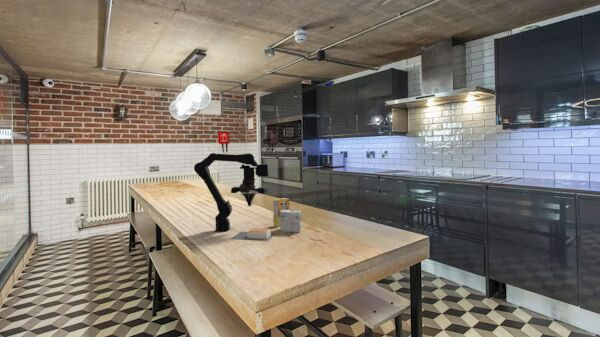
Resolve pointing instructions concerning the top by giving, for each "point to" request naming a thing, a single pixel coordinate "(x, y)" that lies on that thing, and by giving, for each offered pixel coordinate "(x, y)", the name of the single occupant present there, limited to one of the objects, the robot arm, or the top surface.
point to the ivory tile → (259, 233)
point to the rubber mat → (244, 237)
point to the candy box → (279, 209)
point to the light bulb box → (290, 220)
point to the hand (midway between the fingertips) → (249, 206)
